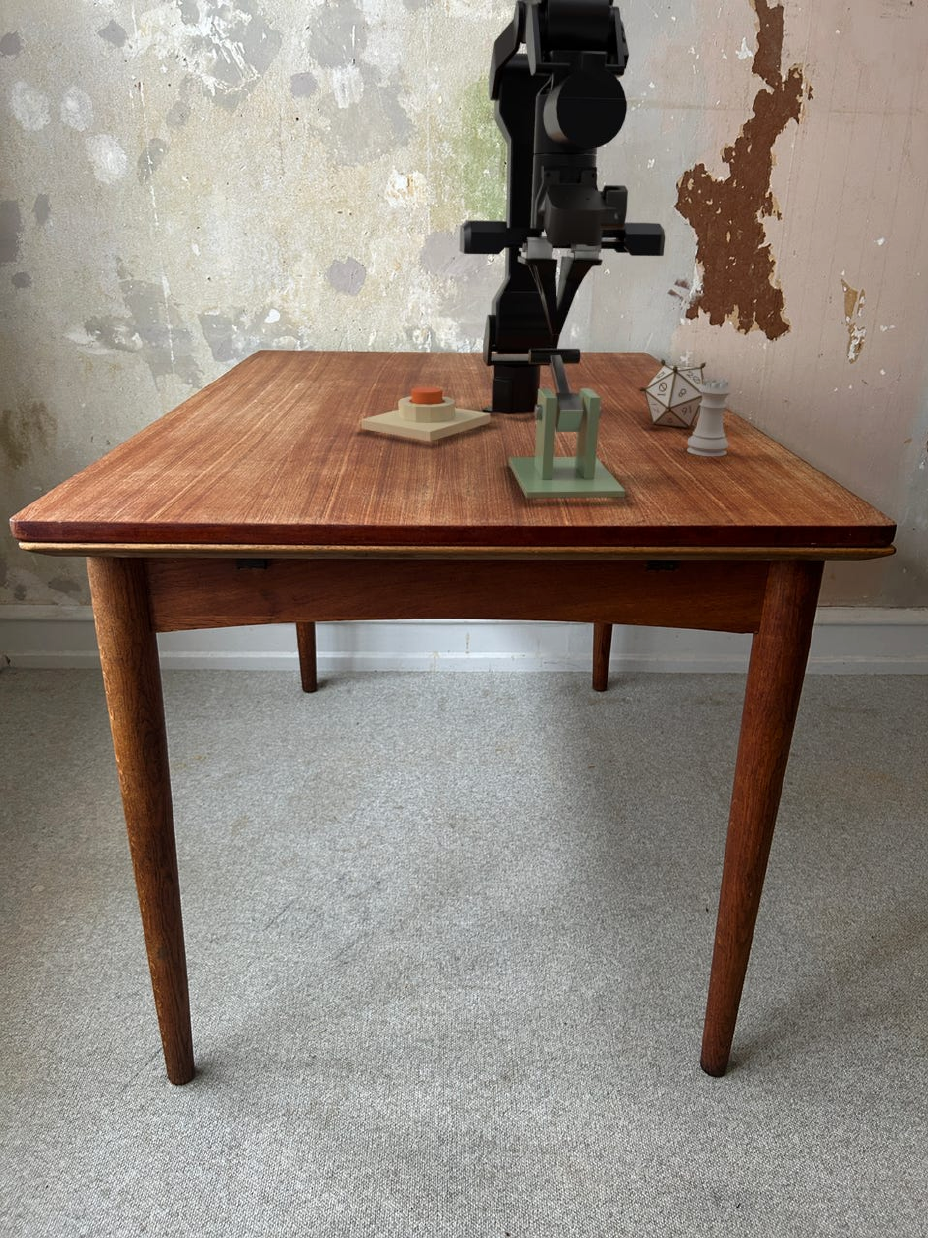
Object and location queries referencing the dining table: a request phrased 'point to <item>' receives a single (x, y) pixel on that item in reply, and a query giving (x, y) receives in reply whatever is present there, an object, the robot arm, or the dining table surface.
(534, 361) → the lever
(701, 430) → the rook chess piece
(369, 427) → the button block
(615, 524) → the dining table surface
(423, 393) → the button
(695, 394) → the game die
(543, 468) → the green lever stand
